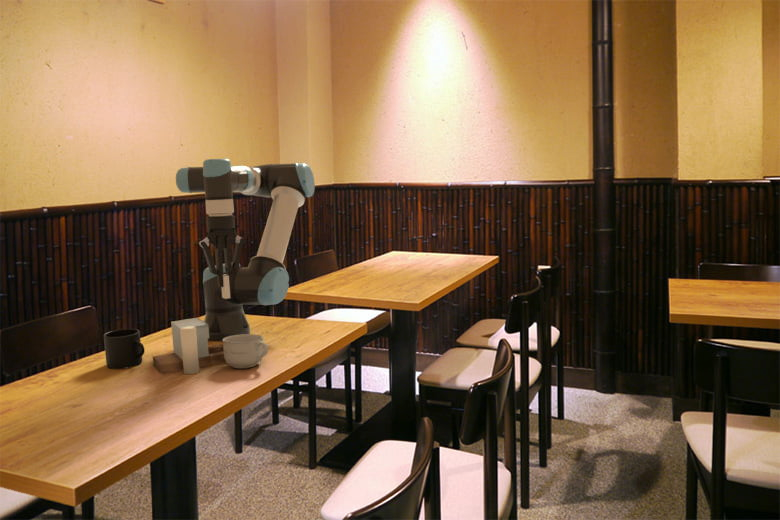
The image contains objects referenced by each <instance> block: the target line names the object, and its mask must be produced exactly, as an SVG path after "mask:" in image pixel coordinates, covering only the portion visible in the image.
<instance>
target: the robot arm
mask: <svg viewBox="0 0 780 520" xmlns="http://www.w3.org/2000/svg"><path fill="white" fill-rule="evenodd" d="M311 168H312V167H311V166H309V164H307V163H304V162H295V163H268V164H261V165H256V166H246V165H242V164H240V165H238V164H237V165H232V164H231V161H230V159H229V158H207V159H205V160H203V163H202V166H195V167H194V166H188V167H187V166H186V167H181V168H180V169H178V170H177V171H176V173H175V184H176V187H177V189H178V191H180V192H181V193H184V194H185V193H186V194H192V193H193V194H195V193H196V194H197V193H200V194H201V193H203V194H205V195H204V196H205V197H204V198H205V212H206V213H205V214H207V215H208V216H207V217H206V227H207V229H206V230H207V231H206V232H207V233H206V235H205V237H204V239H203V240H200V241H198V245H199V246H200V248H201V250H202V251H203V254H204V257H205V260H206V263H207V266H208V267H206V268H205V269H204V270H203V274H202V277H203V278H202V284H203V294H204V295H203V296H204V305H205V317H204V320H203V321H204V322H206V323H207V324H208V329H209V338H208V341H209V342H210V341H211V342H223V339H224V338H225V337H229V336H234V335H242V334H251V327H250V323H249V320H248V319H247V316H246V314H245V311H244V306H243V305H260V306H261V305H263V306H270V305H271V306H272V305H277V304H279V303H281V302H283V301H284V300H285V298H286V296H287V294H288V291H289V287H290V284H289V281H290V276H289V272H288V271H287V270H286V268H287V267H286V266H285V264H284V260H285V255H286V252H287V249H288V246H289V242H290V238H291V236H292V230H293V227H294V224H295V220H296V217H297V216H296V215H297V213H298V209H299V208H300V207H302V206H304V205H305V204H304V203H305V201H306V198H310V197H313V196H314V193H315V187H316V186H315V178H314V173H313V170H312V169H311ZM233 193H241V195H244V196H255V197H262V198H263V197H264V198H271V199H272V203H271V204H272V205H271V208H270V211H269V214H268V217H267V221H266V223H265V224H266V225H265V227H264V230H263V234H262V236H261V240H260V243H259V246H258V250H257V253H256V255H255V256H252V257H251V258H250V259H249V263H248V266H247V267H245V266H243V267H242V265H241V264H240V261H241V255H242V250H243V246H244V244H245V242H246V238H245V237H241V236H239V235H238V232H237V231H236V223H235V215H234V212H235V207H234V196H233V195H234V194H233ZM233 243H235V245H234V250H233V251H234V253H233V258H232V246H233ZM210 244H211V245H212V246H213V247H214V248H213V249H214V254H215V255H214V256H215V257H214V258H215V262H214V259H213V255H212V253H211V249H210ZM223 255H224V256H223ZM223 257H224V261H223ZM223 262H224V263H223Z"/></svg>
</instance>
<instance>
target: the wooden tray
mask: <svg viewBox="0 0 780 520" xmlns="http://www.w3.org/2000/svg"><path fill="white" fill-rule="evenodd" d="M208 352H209V356H206V357H200V358H198V360H199V368H202V367H207V366H210V365H211V366H212V365H217V364H218V365H219V364H223V363H227V362H226V361H225V358H224V350H223V343H222V344H221V343H220V344H215V345H210V346H209V345H208ZM152 361H153V366H154V368H156V370H157V371H159V373H161V375H165V374H170V373H175V372H181V371H184V369H183V360H182V359H181V358H180V357H178V356H177V355H176V354H175V353H174V352H172V353H171V352H170V353H165V354H159V355H154V356H152Z"/></svg>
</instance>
